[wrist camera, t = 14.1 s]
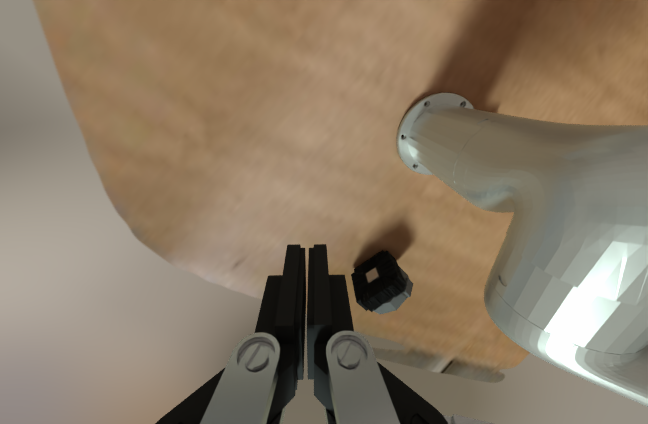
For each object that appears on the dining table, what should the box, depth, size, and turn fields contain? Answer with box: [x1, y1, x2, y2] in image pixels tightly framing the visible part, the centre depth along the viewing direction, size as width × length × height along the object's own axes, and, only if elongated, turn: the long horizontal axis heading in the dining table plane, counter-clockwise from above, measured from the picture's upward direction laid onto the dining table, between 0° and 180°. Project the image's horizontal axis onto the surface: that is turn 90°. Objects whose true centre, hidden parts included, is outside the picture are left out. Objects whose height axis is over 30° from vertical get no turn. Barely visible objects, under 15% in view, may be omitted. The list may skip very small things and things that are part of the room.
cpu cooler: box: [351, 250, 413, 314], centre depth 48 cm, size 10×6×10 cm, turn 131°
